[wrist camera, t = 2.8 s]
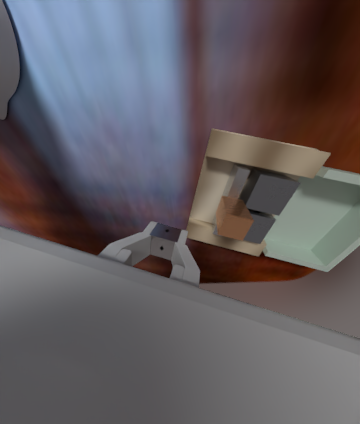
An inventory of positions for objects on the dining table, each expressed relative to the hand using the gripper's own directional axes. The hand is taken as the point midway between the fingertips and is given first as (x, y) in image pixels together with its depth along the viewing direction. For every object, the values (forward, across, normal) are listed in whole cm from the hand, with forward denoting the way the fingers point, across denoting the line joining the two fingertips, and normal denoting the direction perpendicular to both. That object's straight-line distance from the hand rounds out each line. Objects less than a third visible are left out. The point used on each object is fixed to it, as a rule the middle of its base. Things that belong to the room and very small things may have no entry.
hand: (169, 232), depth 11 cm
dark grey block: (+10, -9, -3) cm, 14 cm away
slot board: (+11, -7, 0) cm, 13 cm away
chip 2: (+10, -9, +2) cm, 14 cm away
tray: (+12, -16, 0) cm, 20 cm away
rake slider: (+10, -5, 0) cm, 11 cm away
